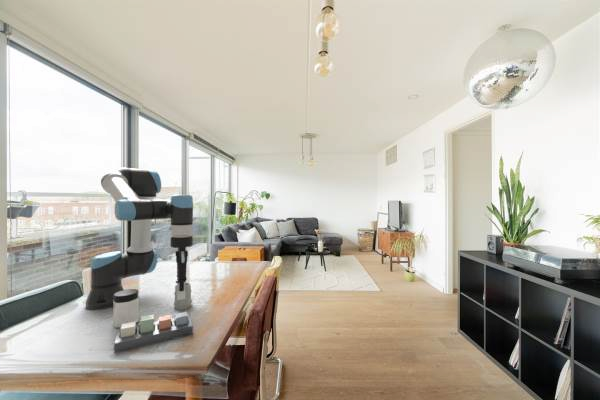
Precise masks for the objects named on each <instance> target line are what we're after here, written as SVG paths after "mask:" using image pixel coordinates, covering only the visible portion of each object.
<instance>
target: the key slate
mask: <svg viewBox="0 0 600 400" xmlns="http://www.w3.org/2000/svg"><path fill="white" fill-rule="evenodd" d="M174 315H175V316H174V317H175V326H178V325H182V324H187V323H188V315H189V314H188V311H183V312H178V313H175V314H174Z"/></svg>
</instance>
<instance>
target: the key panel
mask: <svg viewBox="0 0 600 400" xmlns="http://www.w3.org/2000/svg"><path fill="white" fill-rule="evenodd" d="M193 328H194V327H193V322H192V319H191V316H190V314H188V323H187V324H182V325H178V326H175V316H174V317H171V327H169V328H164V329H159V320H154V331H150V332H145V333H141V334H140V323H139V324H136V335H132V336H127V337H122V338H121V327H119V328H118V330H117V334H116V337H115V341H114V343H113V344H114V346H113V347H114V351H113V352H114V354H115V353H120V352H123V351H124V352H125V351H129V350H132V349H136V348H141V347H145V346H149V345H150V346H151V345H154V344H159V343H162V342H167V341H171V340H174V339H178V338H179V339H180V338H183V337H187V336H191V335H193V333H194V332H193V330H194V329H193Z"/></svg>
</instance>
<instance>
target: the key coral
mask: <svg viewBox="0 0 600 400" xmlns="http://www.w3.org/2000/svg"><path fill="white" fill-rule="evenodd" d="M171 318H172V314H166V315H161V316H158V321H159V329H164V328H169V327H171Z"/></svg>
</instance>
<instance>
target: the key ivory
mask: <svg viewBox="0 0 600 400" xmlns="http://www.w3.org/2000/svg"><path fill="white" fill-rule="evenodd" d="M136 325H137V322H131V323H125V324H122V326H121V327H120V328H121V338H122V337H127V336H132V335H136Z"/></svg>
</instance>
